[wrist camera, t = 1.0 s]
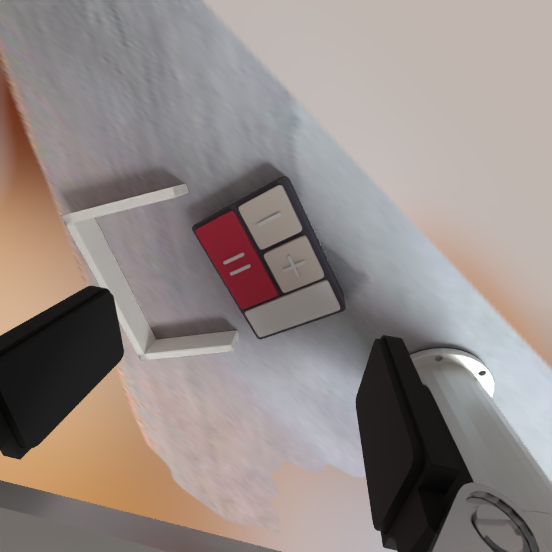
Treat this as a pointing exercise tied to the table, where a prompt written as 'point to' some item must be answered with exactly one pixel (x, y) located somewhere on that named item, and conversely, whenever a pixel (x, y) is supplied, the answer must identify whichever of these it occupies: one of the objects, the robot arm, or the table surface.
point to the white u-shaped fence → (125, 301)
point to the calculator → (271, 260)
